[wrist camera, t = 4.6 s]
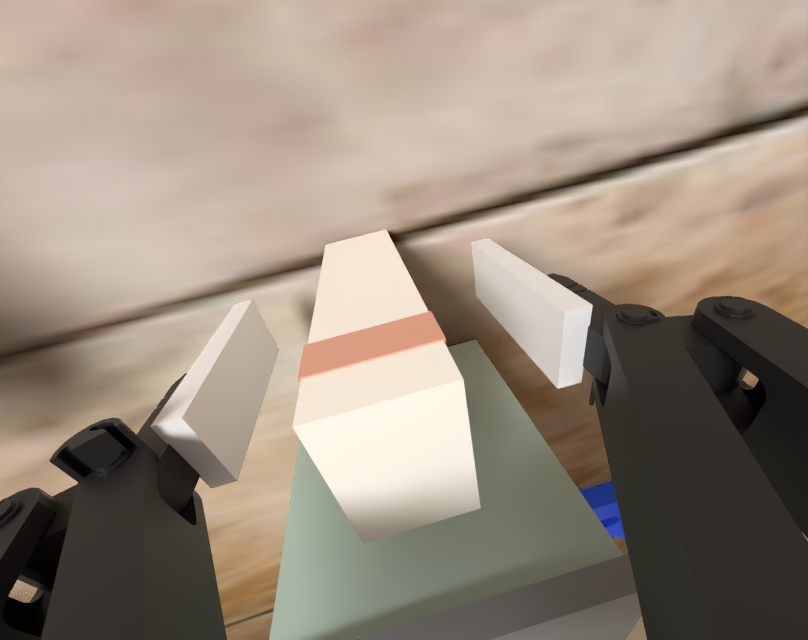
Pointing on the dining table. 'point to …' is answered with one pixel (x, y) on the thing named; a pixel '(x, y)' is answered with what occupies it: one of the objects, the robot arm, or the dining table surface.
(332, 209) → the dining table surface
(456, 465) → the pink striped cream block
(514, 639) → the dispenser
